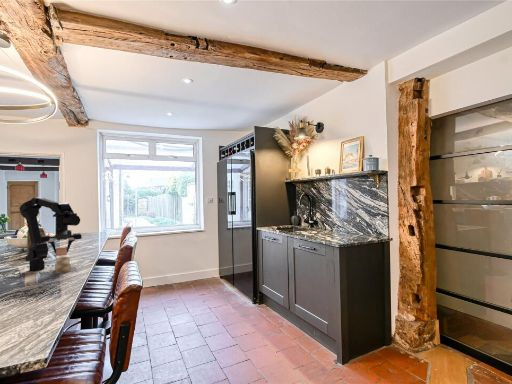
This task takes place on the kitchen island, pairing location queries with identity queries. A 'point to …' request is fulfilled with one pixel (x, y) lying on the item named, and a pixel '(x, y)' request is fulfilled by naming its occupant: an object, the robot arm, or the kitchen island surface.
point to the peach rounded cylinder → (61, 251)
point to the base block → (62, 268)
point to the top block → (62, 260)
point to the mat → (52, 272)
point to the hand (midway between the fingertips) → (61, 252)
